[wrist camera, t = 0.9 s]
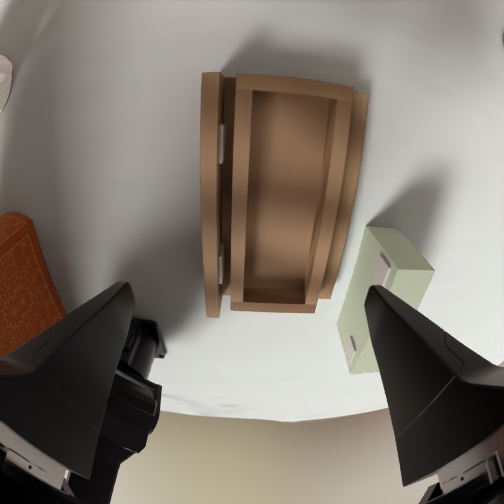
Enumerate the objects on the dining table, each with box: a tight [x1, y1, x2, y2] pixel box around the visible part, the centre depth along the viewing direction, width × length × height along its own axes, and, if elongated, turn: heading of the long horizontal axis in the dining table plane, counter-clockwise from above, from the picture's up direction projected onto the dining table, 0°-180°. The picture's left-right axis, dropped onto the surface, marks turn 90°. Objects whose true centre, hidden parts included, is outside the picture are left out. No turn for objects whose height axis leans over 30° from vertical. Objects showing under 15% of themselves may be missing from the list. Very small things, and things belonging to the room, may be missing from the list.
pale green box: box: [337, 226, 435, 374], centre depth 22 cm, size 12×4×7 cm, turn 177°
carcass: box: [200, 72, 368, 318], centre depth 19 cm, size 18×11×4 cm, turn 177°
